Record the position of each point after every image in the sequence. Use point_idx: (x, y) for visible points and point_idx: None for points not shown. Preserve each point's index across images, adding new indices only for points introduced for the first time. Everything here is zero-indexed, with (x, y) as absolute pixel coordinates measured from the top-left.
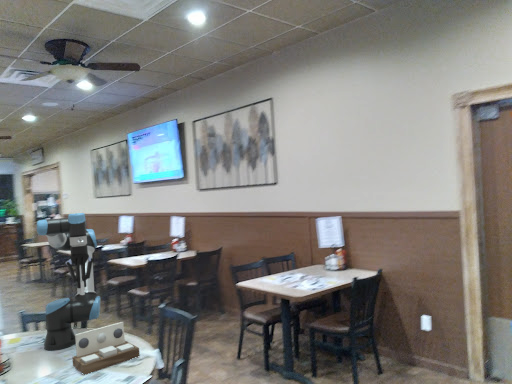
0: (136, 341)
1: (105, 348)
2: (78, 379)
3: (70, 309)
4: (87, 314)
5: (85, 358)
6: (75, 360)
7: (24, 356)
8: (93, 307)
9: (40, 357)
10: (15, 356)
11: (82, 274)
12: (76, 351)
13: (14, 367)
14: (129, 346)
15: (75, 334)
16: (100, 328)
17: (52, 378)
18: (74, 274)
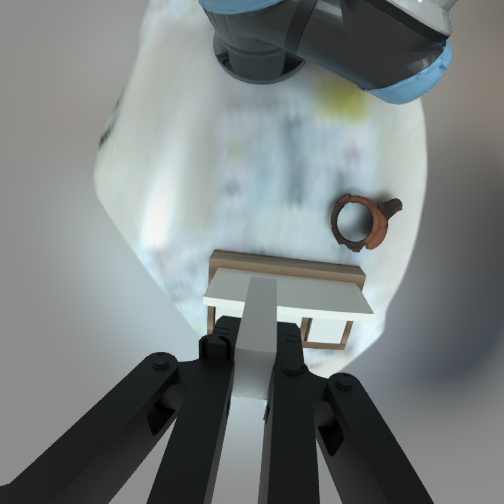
0: (407, 237)
1: (281, 318)
2: (196, 331)
3: (289, 33)
4: (354, 83)
5: (222, 314)
6: (209, 282)
7: (161, 57)
8: (389, 91)
9: (182, 99)
10: (149, 41)
11: (265, 444)
12: (215, 273)
13: (120, 123)
14: (333, 336)
15: (203, 297)
16: (290, 315)
17: (159, 279)
18: (143, 453)
